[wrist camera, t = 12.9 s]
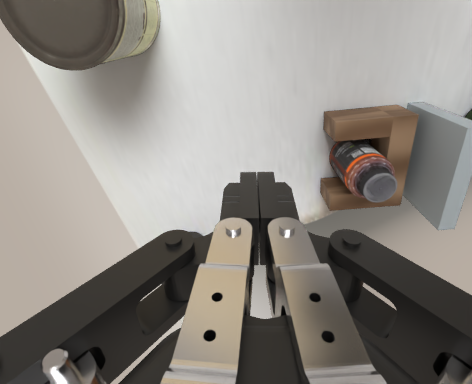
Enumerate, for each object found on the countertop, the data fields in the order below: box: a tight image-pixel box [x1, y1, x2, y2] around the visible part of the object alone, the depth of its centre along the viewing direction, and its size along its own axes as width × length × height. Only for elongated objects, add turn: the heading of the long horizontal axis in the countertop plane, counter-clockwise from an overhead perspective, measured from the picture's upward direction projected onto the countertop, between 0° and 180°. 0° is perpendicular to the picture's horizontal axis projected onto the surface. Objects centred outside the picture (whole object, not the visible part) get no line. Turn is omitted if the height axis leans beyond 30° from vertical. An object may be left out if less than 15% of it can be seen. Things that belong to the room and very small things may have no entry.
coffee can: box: [0, 0, 160, 70], centre depth 29 cm, size 10×10×14 cm
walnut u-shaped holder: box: [320, 105, 419, 211], centre depth 41 cm, size 13×10×6 cm
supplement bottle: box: [330, 139, 397, 203], centre depth 39 cm, size 6×6×11 cm
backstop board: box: [402, 102, 472, 230], centre depth 38 cm, size 13×2×12 cm, turn 6°
